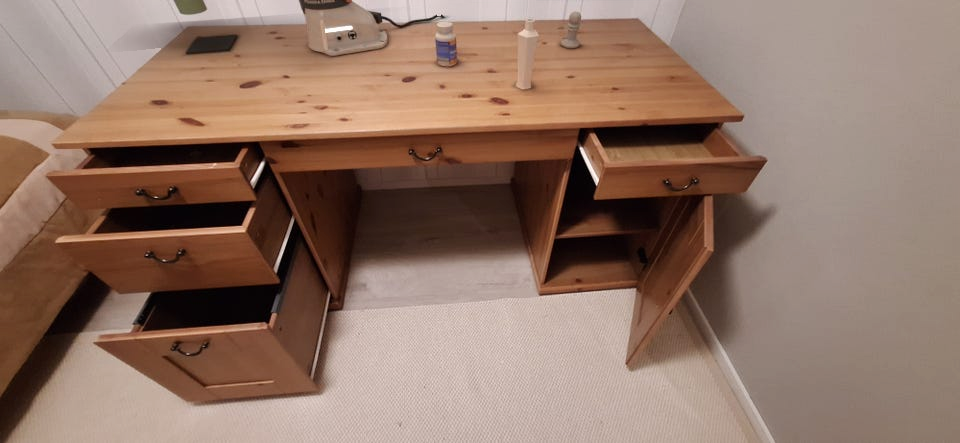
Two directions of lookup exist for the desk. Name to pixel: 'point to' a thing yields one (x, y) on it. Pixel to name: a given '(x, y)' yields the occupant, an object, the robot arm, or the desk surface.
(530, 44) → the perfume bottle
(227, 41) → the coaster
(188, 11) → the bottle
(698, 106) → the desk surface
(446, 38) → the pill bottle
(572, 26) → the chess piece
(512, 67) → the desk surface
